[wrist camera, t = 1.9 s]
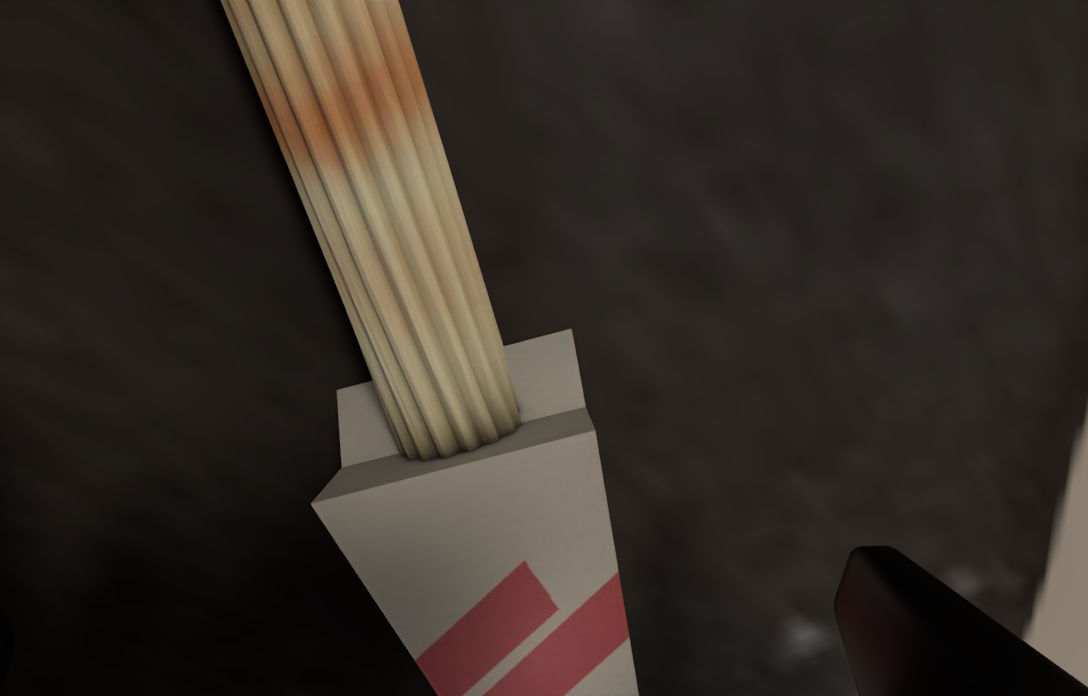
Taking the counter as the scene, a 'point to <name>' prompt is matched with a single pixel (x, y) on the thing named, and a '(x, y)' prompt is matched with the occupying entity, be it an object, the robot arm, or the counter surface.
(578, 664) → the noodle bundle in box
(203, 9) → the counter surface
